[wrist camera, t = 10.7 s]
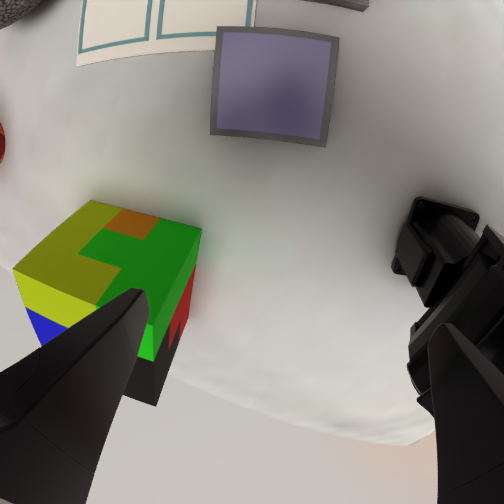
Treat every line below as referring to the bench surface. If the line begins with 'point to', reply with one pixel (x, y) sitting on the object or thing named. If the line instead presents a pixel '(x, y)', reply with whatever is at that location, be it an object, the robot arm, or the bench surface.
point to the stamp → (346, 3)
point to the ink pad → (273, 84)
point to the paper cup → (2, 143)
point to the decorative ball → (15, 10)
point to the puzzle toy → (114, 281)
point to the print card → (154, 26)
